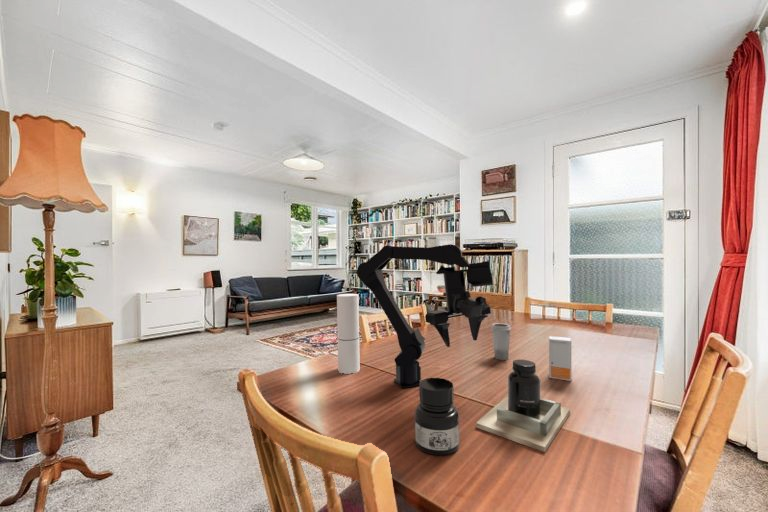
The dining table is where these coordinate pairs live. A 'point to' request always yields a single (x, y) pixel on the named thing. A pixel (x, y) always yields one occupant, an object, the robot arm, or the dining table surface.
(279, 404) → the dining table surface
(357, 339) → the cylindrical container
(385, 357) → the dining table surface
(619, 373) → the dining table surface
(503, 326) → the cup
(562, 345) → the skincare box
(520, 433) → the cradle board
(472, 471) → the dining table surface
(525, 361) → the supplement bottle
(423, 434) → the ink bottle
